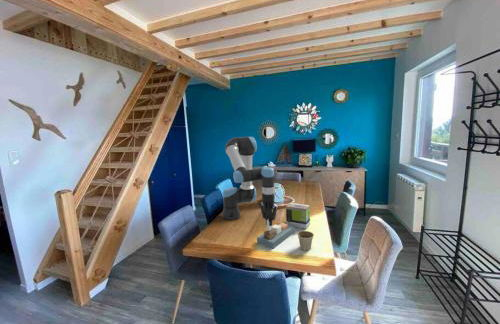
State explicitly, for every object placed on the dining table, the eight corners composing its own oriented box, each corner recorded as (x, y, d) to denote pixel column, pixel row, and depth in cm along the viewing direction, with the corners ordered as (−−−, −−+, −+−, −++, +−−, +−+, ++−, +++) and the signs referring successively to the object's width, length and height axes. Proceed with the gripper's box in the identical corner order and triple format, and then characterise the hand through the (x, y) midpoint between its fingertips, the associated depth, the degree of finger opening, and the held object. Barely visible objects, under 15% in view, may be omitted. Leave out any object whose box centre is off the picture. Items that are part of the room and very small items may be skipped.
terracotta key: (277, 230, 160) (277, 225, 159) (281, 228, 163) (281, 222, 163) (284, 232, 157) (284, 226, 156) (287, 230, 160) (287, 224, 160)
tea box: (310, 224, 173) (310, 204, 171) (306, 229, 165) (306, 209, 162) (290, 220, 181) (290, 202, 178) (285, 225, 172) (285, 206, 170)
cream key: (271, 232, 153) (271, 226, 153) (275, 230, 157) (275, 224, 156) (277, 234, 150) (277, 228, 150) (281, 231, 154) (281, 226, 153)
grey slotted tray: (257, 243, 148) (256, 237, 147) (279, 228, 168) (279, 223, 167) (273, 249, 140) (272, 242, 140) (294, 232, 160) (294, 227, 160)
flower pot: (312, 253, 134) (312, 239, 133) (296, 250, 138) (295, 236, 136) (314, 245, 143) (314, 232, 141) (298, 243, 146) (298, 229, 145)
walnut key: (264, 237, 147) (263, 231, 146) (268, 234, 151) (268, 228, 150) (270, 239, 144) (270, 233, 143) (274, 236, 148) (274, 230, 147)
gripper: (255, 193, 144) (257, 229, 148) (273, 196, 136) (274, 235, 140) (263, 190, 150) (264, 225, 154) (280, 193, 142) (281, 230, 145)
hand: (269, 229), depth 147 cm, fingers closed
